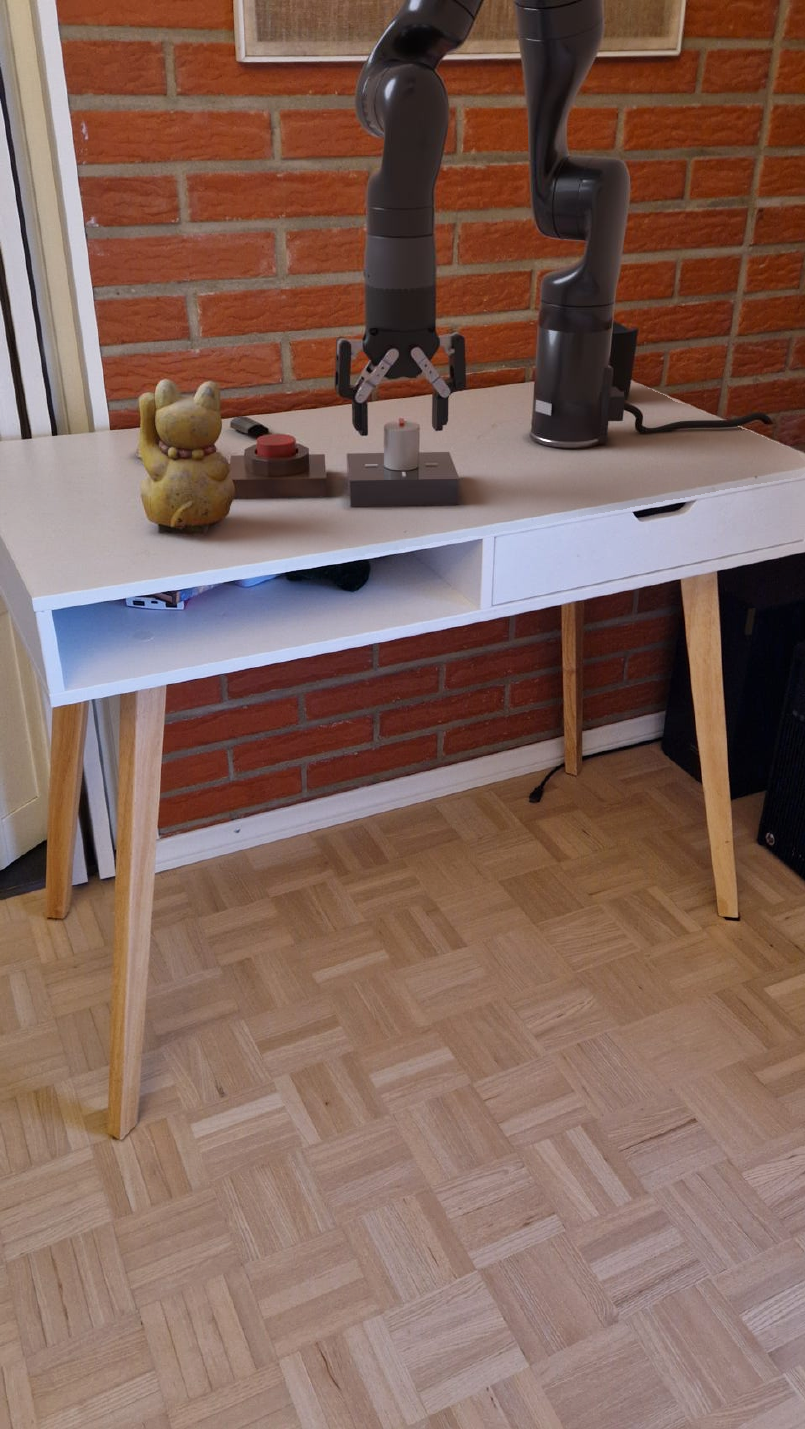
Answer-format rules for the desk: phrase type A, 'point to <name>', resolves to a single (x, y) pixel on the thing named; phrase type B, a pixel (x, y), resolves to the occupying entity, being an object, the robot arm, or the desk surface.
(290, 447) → the button
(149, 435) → the decorative figurine
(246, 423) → the block
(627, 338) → the dark upright prism
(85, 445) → the desk surface
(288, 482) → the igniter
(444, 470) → the panel
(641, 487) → the desk surface
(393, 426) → the knob
